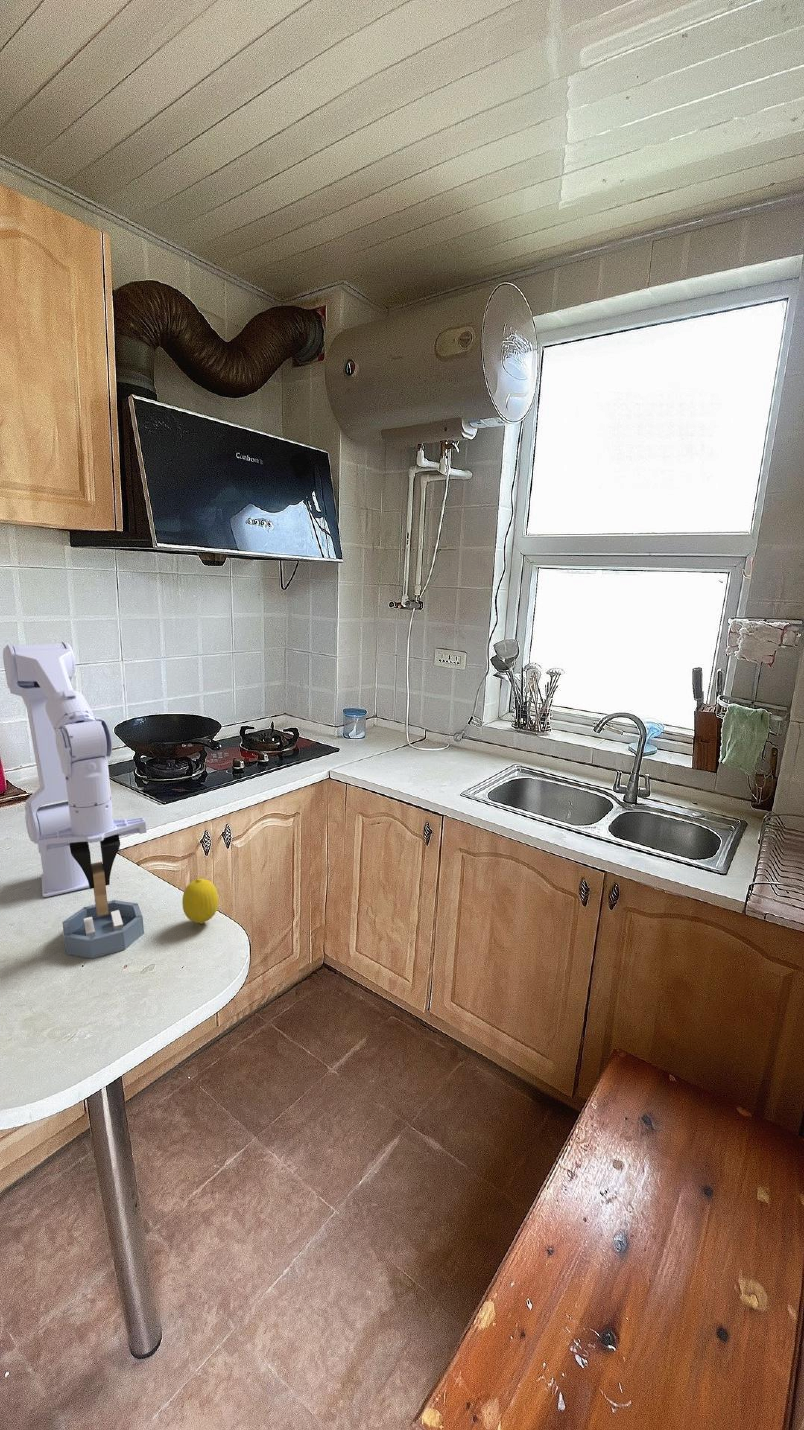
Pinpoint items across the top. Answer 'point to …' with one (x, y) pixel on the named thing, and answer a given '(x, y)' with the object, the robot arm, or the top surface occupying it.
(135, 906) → the octagonal blue tray
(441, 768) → the top surface
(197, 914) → the lemon
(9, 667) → the robot arm
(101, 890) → the brown wooden plank
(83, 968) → the top surface
